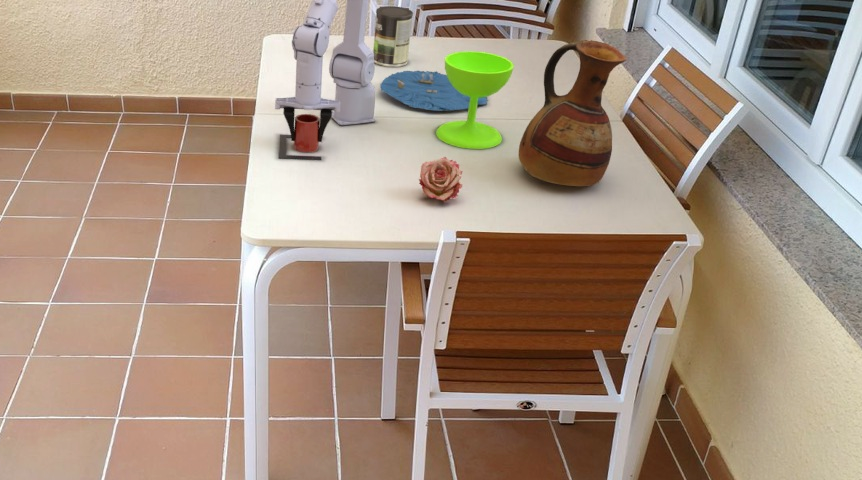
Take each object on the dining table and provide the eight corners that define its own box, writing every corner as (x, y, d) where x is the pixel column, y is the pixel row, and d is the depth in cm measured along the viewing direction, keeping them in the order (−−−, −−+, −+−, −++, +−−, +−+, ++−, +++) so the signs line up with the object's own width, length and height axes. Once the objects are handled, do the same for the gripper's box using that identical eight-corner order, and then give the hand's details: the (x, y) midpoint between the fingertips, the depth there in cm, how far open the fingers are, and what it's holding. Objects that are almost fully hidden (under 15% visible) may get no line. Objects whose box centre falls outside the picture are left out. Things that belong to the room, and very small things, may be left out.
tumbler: (312, 141, 226) (314, 112, 222) (322, 151, 222) (323, 121, 218) (290, 144, 224) (291, 115, 220) (299, 153, 220) (300, 124, 216)
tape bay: (320, 136, 229) (320, 136, 229) (321, 160, 218) (321, 159, 217) (279, 135, 228) (279, 134, 228) (278, 158, 217) (278, 157, 217)
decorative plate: (457, 76, 274) (460, 58, 271) (505, 113, 251) (509, 93, 248) (360, 77, 265) (362, 58, 262) (400, 116, 242) (402, 95, 239)
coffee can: (374, 66, 273) (379, 15, 265) (370, 55, 282) (373, 5, 274) (410, 67, 274) (416, 16, 266) (404, 56, 283) (409, 6, 275)
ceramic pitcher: (586, 204, 206) (618, 65, 189) (500, 179, 214) (522, 43, 197) (616, 174, 220) (648, 42, 203) (534, 152, 228) (558, 23, 211)
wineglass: (459, 152, 225) (469, 76, 215) (423, 128, 237) (431, 54, 227) (515, 143, 232) (527, 69, 222) (477, 120, 243) (487, 48, 233)
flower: (415, 176, 209) (415, 157, 201) (457, 169, 209) (458, 150, 201) (423, 216, 205) (423, 198, 198) (465, 209, 205) (467, 190, 198)
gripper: (275, 86, 210) (274, 145, 218) (342, 89, 211) (338, 147, 219) (276, 75, 216) (274, 133, 224) (340, 78, 217) (337, 136, 225)
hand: (306, 139), depth 222 cm, fingers closed on tumbler, 5 cm apart
